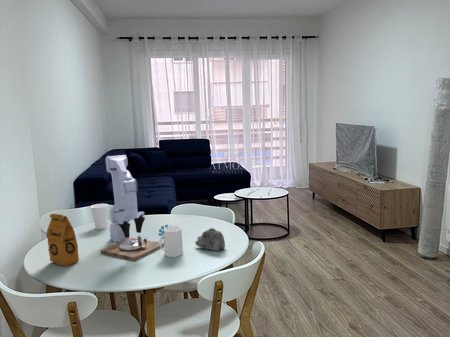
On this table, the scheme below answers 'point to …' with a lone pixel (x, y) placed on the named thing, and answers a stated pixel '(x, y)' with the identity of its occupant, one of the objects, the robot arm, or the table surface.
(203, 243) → the mineral rock
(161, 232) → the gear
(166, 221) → the table surface
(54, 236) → the coffee package
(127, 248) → the flange
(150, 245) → the base board
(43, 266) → the table surface
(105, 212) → the foam cup
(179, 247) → the mug
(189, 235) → the table surface
